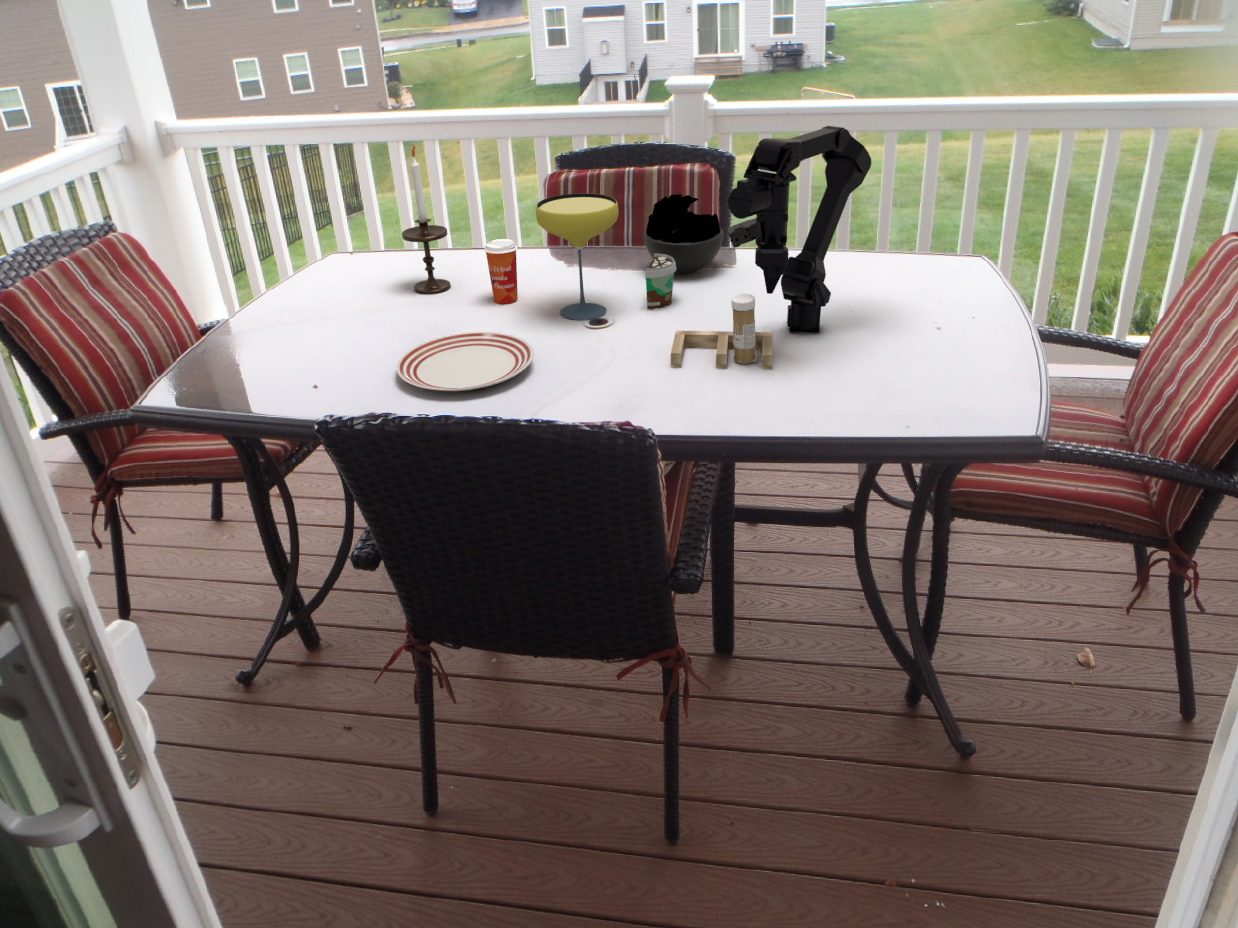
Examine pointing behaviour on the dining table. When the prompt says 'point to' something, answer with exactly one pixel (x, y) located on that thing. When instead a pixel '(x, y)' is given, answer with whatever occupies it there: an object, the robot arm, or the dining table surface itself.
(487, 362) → the dinner plate
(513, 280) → the paper cup
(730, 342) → the comb rack
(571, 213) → the cocktail glass
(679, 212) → the coal bowl
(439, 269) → the dining table surface
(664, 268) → the food container
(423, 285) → the candlestick
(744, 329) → the sprinkles bottle
